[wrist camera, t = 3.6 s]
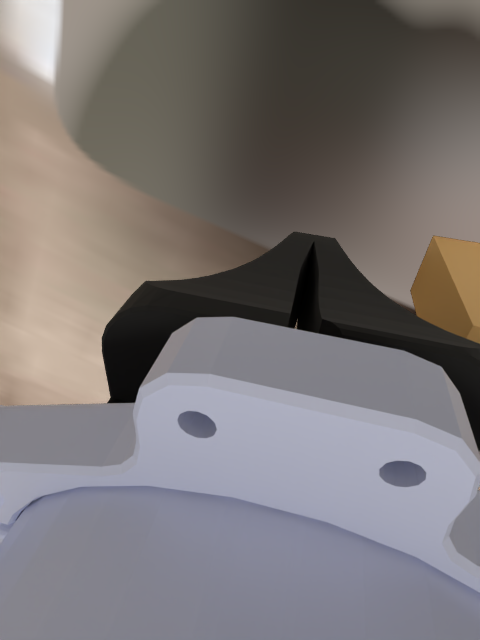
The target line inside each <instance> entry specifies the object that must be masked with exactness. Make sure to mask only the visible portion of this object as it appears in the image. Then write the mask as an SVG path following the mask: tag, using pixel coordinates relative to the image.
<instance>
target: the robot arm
mask: <svg viewBox="0 0 480 640" xmlns="http://www.w3.org/2000/svg"><path fill="white" fill-rule="evenodd" d="M297 318H298V321H297ZM296 322H297V329H294V328H295V325H296ZM102 354H103V359H104V364H105V370H106V375H107V380H108V386H109V391H110V396H111V398H110V400H109V401H108V403H104V404H61V405H17V406H3V405H0V640H480V490H478V487H479V483H480V455H479V452H480V344H479V343H476V342H474V341H471V340H469V339H466V338H464V337H461V336H458V335H456V334H453V333H451V332H448V331H446V330H444V329H441V328H439V327H437V326H435V325H433V324H431V323H429V322H427V321H425V320H423V319H421V318H420V317H418V316H416V315H414V314H412V313H411V312H409V311H407V310H406V309H404V308H403V307H401V306H400V305H398V304H397V303H395V302H394V301H392V300H391V299H389V298H388V297H387V296H385V295H384V294H383V293H382V292H381V291H379V290H378V289H377V288H376V287H375V286H373V285H372V284H371V283H370V282H369V281H368V280H367V279H366V278H365V277H364V276H363V274H362V273H360V271H359V270H358V269H357V268H356V267H355V265H354V264H353V263H352V262H351V261H350V259H349V258H348V256H347V255H346V254H345V252H344V251H343V249H342V248H341V246H340V245H339V243H338V242H337V240H336V239H335V238H330V237H324V236H318V235H311V234H305V233H300V232H293V233H292V234H290V235H289V236H288V237H287V238H285V239H284V240H283V241H282V242H281V243H279V244H278V245H277V246H275V247H274V248H273V249H271V250H270V251H268V252H267V253H265V254H264V255H262V256H260V257H259V258H257V259H255V260H253V261H251V262H249V263H247V264H245V265H242V266H240V267H237V268H235V269H232V270H228V271H225V272H221V273H218V274H214V275H210V276H205V277H199V278H192V279H185V280H169V281H145V282H144V283H143V284H142V285H141V286H140V287H139V288H138V289H137V290H136V291H135V292H134V293H133V294H132V295H131V296H130V298H129V299H128V300H127V301H126V302H125V304H124V305H123V306H122V307H121V308H120V310H119V311H118V312H117V313H116V314H115V316H114V317H113V318H112V319H111V320H110V322H109V323H108V324H107V325H106V328H105V331H104V333H103V336H102Z"/></svg>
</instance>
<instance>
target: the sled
mask: <svg viewBox="0 0 480 640" xmlns="http://www.w3.org/2000/svg"><path fill="white" fill-rule="evenodd" d="M410 291H411V295H412V299H413V303H414V307H415V311H416V315H417V316H418V317H420V318H421V319H423V320H425V321H427V322H429V323H431V324H433V325H435V326H437V327H439V328H441V329H444V330H446V331H448V332H451V333H453V334H456V335H458V336H461V337H464V338H466V339H469V340H471V341H474V342H476V343H479V344H480V243H477V242H470V241H464V240H458V239H452V238H446V237H439V236H433V237H432V240H431V242H430V244H429V247H428V249H427V251H426V254H425V257H424V259H423V261H422V264H421V266H420V269H419V271H418V273H417V276H416V278H415V281H414V283H413V285H412V288H411V290H410ZM479 455H480V452H479ZM479 487H480V483H479Z"/></svg>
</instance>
